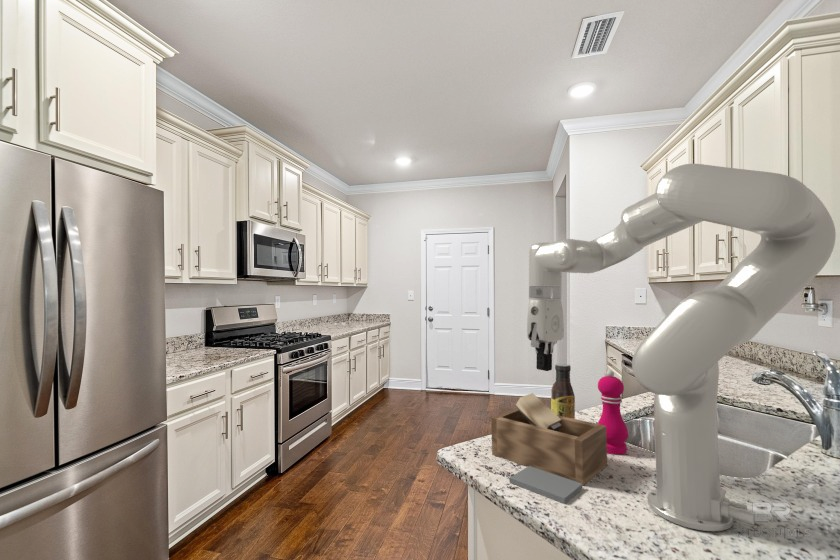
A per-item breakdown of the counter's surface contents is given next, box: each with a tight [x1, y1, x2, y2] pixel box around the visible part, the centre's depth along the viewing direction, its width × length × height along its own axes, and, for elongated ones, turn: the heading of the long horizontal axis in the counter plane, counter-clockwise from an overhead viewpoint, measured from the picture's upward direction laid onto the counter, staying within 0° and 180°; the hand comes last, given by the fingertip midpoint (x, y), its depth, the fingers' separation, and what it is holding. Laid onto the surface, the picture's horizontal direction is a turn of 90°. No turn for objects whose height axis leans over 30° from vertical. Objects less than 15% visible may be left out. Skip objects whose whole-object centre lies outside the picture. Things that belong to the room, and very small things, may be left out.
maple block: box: [515, 392, 561, 429], centre depth 95 cm, size 9×6×2 cm
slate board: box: [508, 466, 584, 504], centre depth 80 cm, size 12×8×1 cm, turn 44°
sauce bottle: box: [550, 363, 576, 419], centre depth 108 cm, size 6×6×20 cm
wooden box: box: [490, 407, 608, 486], centre depth 93 cm, size 23×13×9 cm, turn 44°
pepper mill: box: [597, 369, 629, 456], centre depth 98 cm, size 7×7×20 cm
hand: (544, 369), depth 94 cm, fingers closed
